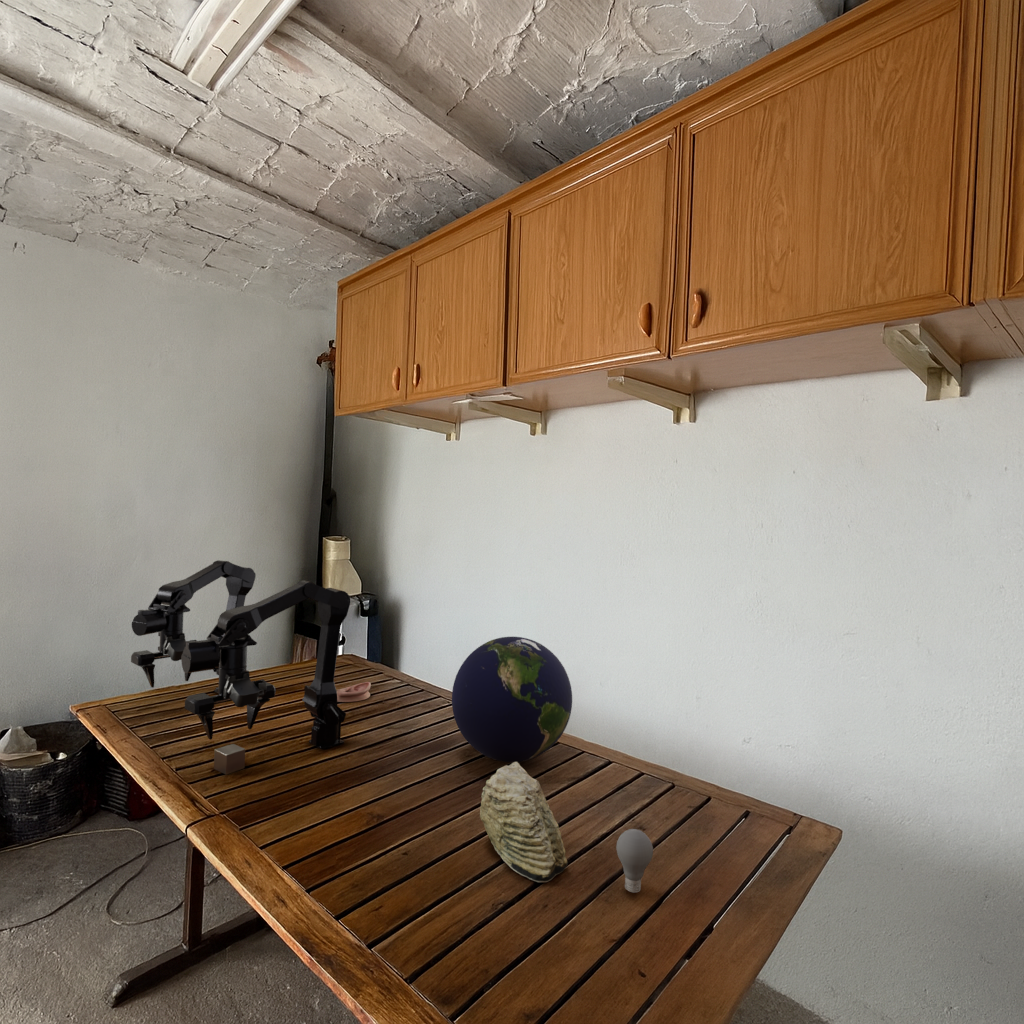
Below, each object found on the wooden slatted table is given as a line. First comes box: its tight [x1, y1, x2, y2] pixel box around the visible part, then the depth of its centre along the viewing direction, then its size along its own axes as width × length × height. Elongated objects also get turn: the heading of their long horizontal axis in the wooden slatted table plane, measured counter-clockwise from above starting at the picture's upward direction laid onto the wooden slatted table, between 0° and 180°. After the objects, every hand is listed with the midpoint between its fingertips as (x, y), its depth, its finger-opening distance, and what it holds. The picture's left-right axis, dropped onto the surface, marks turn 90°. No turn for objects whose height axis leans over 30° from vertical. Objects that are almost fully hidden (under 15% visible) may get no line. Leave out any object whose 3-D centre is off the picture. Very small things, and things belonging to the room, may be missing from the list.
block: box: [213, 743, 246, 775], centre depth 145 cm, size 5×5×4 cm
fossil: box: [479, 762, 569, 883], centre depth 114 cm, size 9×18×15 cm, turn 46°
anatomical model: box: [336, 681, 372, 703], centre depth 200 cm, size 13×4×12 cm
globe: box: [451, 636, 573, 763], centre depth 158 cm, size 30×30×30 cm
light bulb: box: [615, 828, 654, 894], centre depth 106 cm, size 6×6×10 cm
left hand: (169, 684), depth 180 cm, fingers open, 9 cm apart
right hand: (230, 733), depth 145 cm, fingers open, 9 cm apart
